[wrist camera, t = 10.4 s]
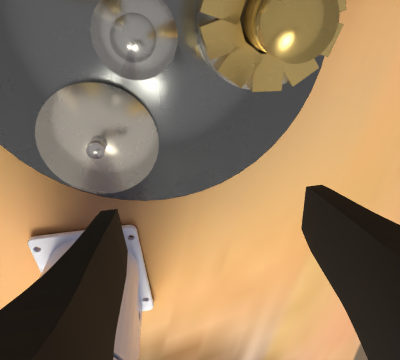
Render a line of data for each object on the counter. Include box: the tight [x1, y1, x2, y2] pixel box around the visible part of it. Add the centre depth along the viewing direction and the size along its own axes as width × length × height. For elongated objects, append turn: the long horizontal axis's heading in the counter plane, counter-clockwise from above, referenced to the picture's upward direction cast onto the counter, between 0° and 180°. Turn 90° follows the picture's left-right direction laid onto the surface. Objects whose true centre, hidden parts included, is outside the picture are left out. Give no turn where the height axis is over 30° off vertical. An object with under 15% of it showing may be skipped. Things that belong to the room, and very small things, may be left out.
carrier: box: [0, 0, 324, 201], centre depth 15 cm, size 21×21×5 cm
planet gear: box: [197, 0, 346, 92], centre depth 14 cm, size 7×7×5 cm
